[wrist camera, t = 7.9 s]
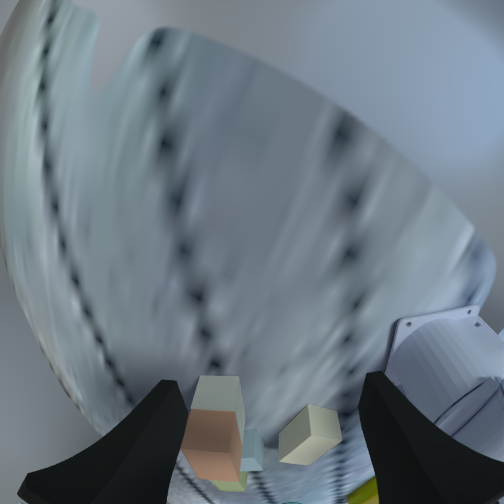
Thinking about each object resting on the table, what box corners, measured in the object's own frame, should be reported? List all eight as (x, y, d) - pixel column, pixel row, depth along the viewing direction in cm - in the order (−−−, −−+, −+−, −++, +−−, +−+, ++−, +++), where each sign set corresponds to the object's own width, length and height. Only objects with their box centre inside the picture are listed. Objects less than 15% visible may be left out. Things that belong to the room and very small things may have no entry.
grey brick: (200, 375, 23) (190, 407, 19) (238, 376, 22) (234, 410, 19) (211, 414, 25) (205, 444, 21) (245, 415, 24) (242, 446, 21)
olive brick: (209, 450, 28) (205, 475, 24) (236, 450, 27) (233, 476, 24) (223, 468, 30) (220, 491, 26) (248, 468, 29) (246, 491, 25)
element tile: (343, 496, 35) (345, 515, 30) (385, 465, 30) (391, 488, 25) (400, 488, 35) (404, 504, 31) (444, 454, 30) (451, 472, 26)
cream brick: (307, 403, 23) (311, 435, 20) (336, 409, 24) (342, 440, 20) (278, 432, 25) (278, 461, 22) (305, 437, 26) (308, 465, 22)
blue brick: (256, 428, 25) (254, 457, 21) (264, 442, 26) (262, 470, 23) (204, 431, 26) (198, 458, 22) (215, 445, 27) (211, 471, 23)
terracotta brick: (242, 446, 21) (238, 481, 17) (205, 444, 21) (198, 478, 17) (235, 411, 19) (229, 452, 15) (191, 408, 19) (180, 448, 15)
